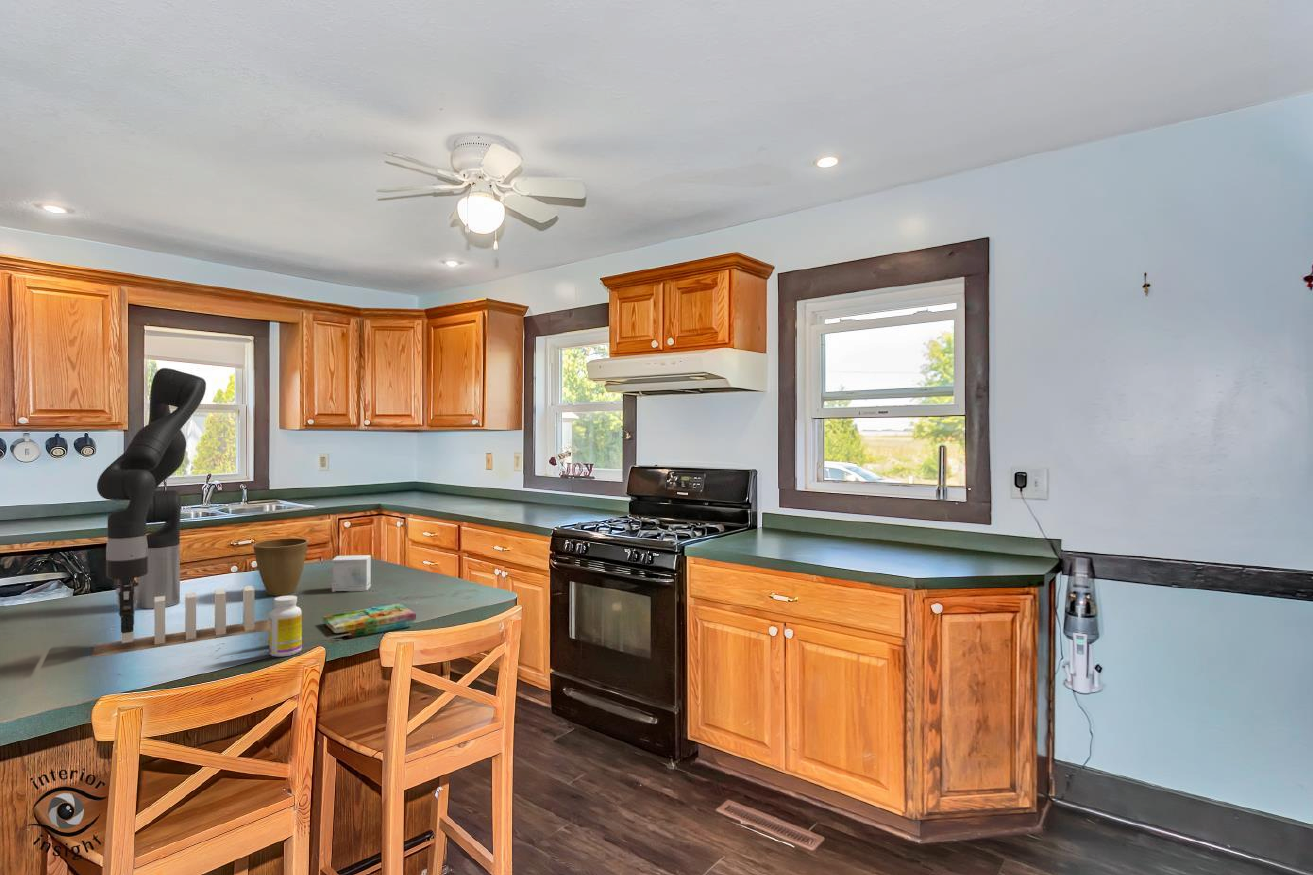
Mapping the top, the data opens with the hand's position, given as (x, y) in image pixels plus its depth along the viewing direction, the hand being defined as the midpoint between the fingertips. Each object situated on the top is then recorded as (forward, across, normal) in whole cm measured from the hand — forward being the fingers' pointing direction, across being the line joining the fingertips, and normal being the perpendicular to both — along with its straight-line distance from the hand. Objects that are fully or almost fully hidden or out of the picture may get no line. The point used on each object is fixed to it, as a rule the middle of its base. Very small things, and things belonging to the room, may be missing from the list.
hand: (127, 628), depth 154 cm
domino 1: (+2, 0, 0) cm, 2 cm away
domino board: (+5, 0, -12) cm, 13 cm away
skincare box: (+6, +33, -55) cm, 65 cm away
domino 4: (+4, 0, -18) cm, 18 cm away
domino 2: (+4, 0, -6) cm, 7 cm away
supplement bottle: (+6, -21, -29) cm, 37 cm away
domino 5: (+4, 0, -24) cm, 24 cm away
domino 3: (+4, 0, -12) cm, 13 cm away
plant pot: (+6, +40, -36) cm, 54 cm away
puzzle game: (+6, -12, -50) cm, 52 cm away
